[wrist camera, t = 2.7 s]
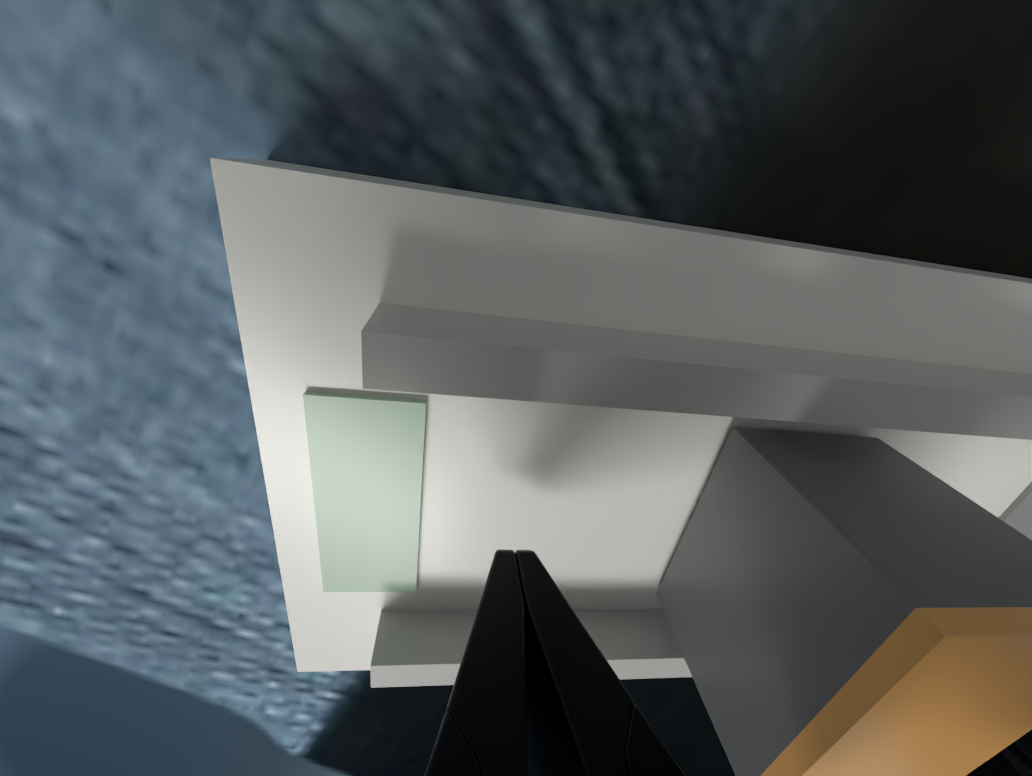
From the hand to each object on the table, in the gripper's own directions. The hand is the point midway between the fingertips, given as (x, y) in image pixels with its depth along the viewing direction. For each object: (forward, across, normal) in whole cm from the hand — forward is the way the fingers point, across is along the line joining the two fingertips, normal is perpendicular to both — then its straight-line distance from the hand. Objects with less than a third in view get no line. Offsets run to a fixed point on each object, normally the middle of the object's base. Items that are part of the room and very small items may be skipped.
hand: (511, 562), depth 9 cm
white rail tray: (+4, -6, 0) cm, 7 cm away
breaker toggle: (+1, -7, 0) cm, 7 cm away
